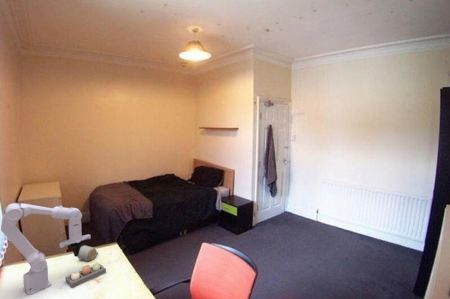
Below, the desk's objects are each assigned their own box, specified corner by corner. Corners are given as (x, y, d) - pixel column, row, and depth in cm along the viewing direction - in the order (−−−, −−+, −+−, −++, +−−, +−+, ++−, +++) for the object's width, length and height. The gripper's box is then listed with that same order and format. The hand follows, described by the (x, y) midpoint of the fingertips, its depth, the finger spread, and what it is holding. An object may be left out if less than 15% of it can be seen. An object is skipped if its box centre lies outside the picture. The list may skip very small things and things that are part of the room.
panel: (71, 288, 121) (71, 283, 121) (65, 281, 126) (65, 277, 126) (106, 272, 134) (105, 268, 134) (99, 267, 139) (99, 263, 139)
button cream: (73, 284, 123) (72, 277, 123) (70, 281, 126) (70, 274, 125) (80, 281, 126) (80, 273, 126) (78, 278, 128) (77, 271, 128)
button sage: (94, 275, 132) (94, 268, 131) (91, 272, 134) (91, 265, 133) (101, 272, 134) (101, 265, 134) (98, 269, 137) (98, 263, 136)
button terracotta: (84, 277, 127) (83, 269, 127) (81, 274, 130) (80, 267, 129) (91, 274, 130) (91, 266, 130) (88, 271, 132) (88, 264, 132)
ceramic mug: (88, 263, 144) (88, 250, 143) (76, 261, 145) (76, 248, 145) (101, 254, 154) (101, 242, 153) (90, 252, 156) (90, 241, 155)
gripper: (62, 237, 123) (63, 263, 124) (92, 228, 134) (93, 252, 135) (57, 234, 127) (58, 259, 128) (87, 225, 138) (88, 248, 139)
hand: (76, 255), depth 132 cm, fingers closed
